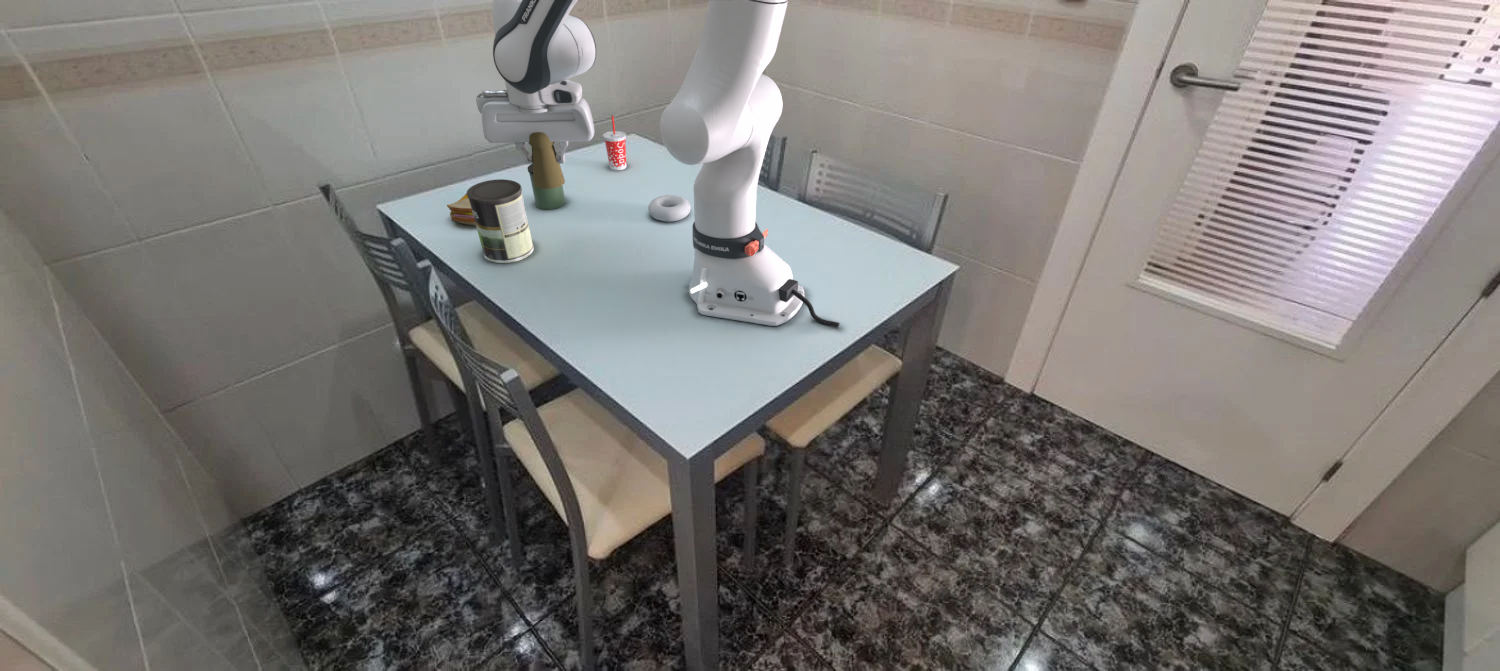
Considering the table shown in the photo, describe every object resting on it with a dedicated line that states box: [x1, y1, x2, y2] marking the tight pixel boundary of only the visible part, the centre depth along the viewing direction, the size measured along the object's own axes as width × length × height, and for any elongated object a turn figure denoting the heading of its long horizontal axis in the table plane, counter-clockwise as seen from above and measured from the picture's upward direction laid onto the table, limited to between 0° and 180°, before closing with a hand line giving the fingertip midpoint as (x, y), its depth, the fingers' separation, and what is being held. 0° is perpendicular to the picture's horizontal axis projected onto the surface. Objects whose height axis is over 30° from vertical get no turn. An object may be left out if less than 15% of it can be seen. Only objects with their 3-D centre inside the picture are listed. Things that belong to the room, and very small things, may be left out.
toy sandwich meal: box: [446, 192, 476, 226], centre depth 142 cm, size 12×14×5 cm
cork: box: [527, 132, 566, 189], centre depth 120 cm, size 6×6×11 cm
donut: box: [648, 194, 692, 222], centre depth 145 cm, size 10×3×10 cm
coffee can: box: [466, 178, 535, 264], centre depth 126 cm, size 10×10×14 cm
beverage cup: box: [602, 115, 627, 171], centre depth 165 cm, size 6×6×14 cm
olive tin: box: [527, 164, 566, 210], centre depth 147 cm, size 7×7×9 cm
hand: (546, 162), depth 121 cm, fingers closed on cork, 4 cm apart
